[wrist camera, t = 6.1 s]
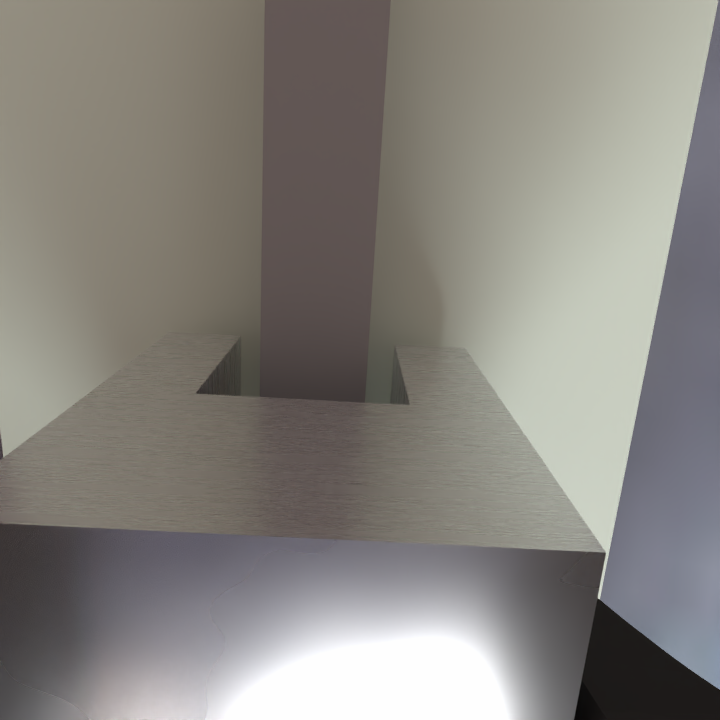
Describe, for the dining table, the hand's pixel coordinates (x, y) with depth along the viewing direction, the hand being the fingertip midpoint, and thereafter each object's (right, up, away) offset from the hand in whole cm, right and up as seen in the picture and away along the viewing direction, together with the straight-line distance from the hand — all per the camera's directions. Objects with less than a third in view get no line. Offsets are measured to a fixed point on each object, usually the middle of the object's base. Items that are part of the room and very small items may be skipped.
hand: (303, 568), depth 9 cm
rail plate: (0, +2, +3) cm, 4 cm away
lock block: (0, +1, +2) cm, 2 cm away
